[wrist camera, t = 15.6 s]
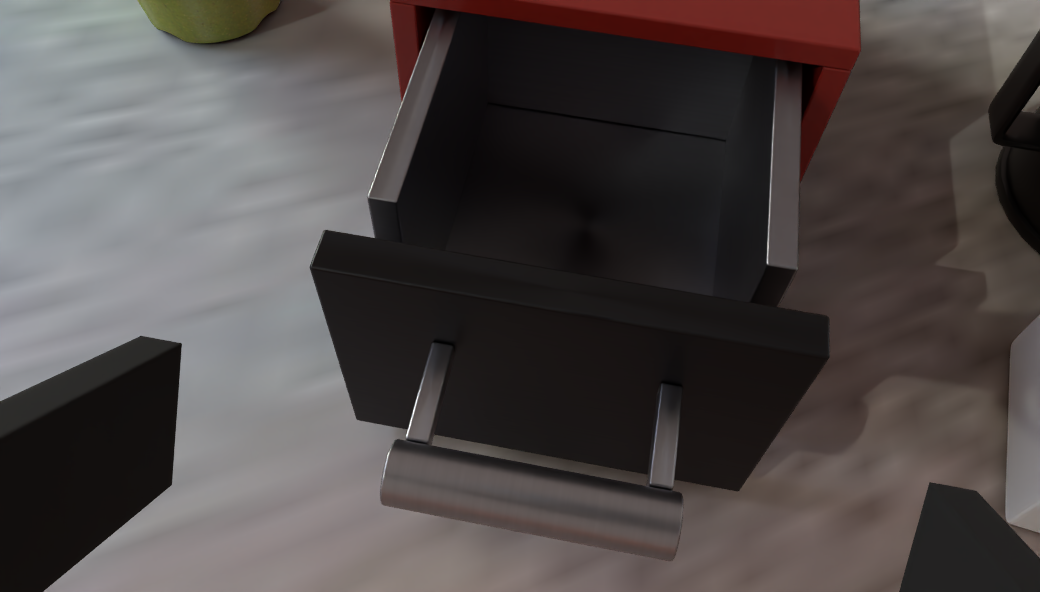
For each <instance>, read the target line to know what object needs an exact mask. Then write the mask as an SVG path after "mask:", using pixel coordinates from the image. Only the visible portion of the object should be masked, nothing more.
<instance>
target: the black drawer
mask: <svg viewBox="0 0 1040 592" xmlns="http://www.w3.org/2000/svg"><path fill="white" fill-rule="evenodd" d="M801 110H802V63H798V62H792V61H785V60H778V59H772V58H765V57H758V56H751V55H745V54H738V53H731V52H725V51H718V50H711V49H705V48H698V47H691V46H685V45H678V44H671V43H665V42H658V41H651V40H645V39H638V38H631V37H624V36H618V35H611V34H604V33H598V32H591V31H584V30H578V29H571V28H564V27H558V26H551V25H544V24H538V23H531V22H524V21H518V20H511V19H504V18H497V17H491V16H484V15H477V14H471V13H464V12H457V11H451V10H444V9H437V8H436V9H435V12H434V15H433V18H432V20H431V23H430V26H429V29H428V31H427V34H426V37H425V40H424V42H423V45H422V48H421V51H420V54H419V56H418V59H417V62H416V65H415V67H414V70H413V73H412V76H411V78H410V81H409V84H408V87H407V89H406V92H405V95H404V98H403V100H402V103H401V106H400V109H399V111H398V114H397V117H396V120H395V122H394V125H393V128H392V131H391V133H390V136H389V139H388V142H387V144H386V147H385V150H384V153H383V155H382V158H381V161H380V164H379V166H378V169H377V172H376V175H375V177H374V180H373V183H372V186H371V188H370V191H369V194H368V197H367V198H368V203H369V209H370V214H371V219H372V225H373V230H374V235H375V238H370V237H365V236H359V235H353V234H347V233H341V232H335V231H329V230H324V231H323V234H322V236H321V239H320V241H319V244H318V247H317V249H316V252H315V254H314V257H313V260H312V262H311V265H310V270H311V273H312V277H313V280H314V283H315V286H316V290H317V293H318V296H319V299H320V302H321V306H322V309H323V312H324V315H325V319H326V322H327V325H328V328H329V332H330V335H331V338H332V341H333V345H334V348H335V351H336V354H337V358H338V361H339V364H340V367H341V370H342V374H343V377H344V380H345V383H346V387H347V390H348V393H349V396H350V400H351V403H352V406H353V409H354V413H355V416H356V419H357V420H360V421H366V422H371V423H376V424H382V425H387V426H392V427H398V428H403V429H408V430H407V433H406V441H405V440H400V439H397V440H395V441H394V442H393V444H392V446H391V448H390V450H389V453H388V455H387V459H386V462H385V466H384V470H383V475H382V481H381V489H380V499H381V504H382V505H384V506H389V507H394V508H399V509H405V510H410V511H415V512H420V513H425V514H430V515H435V516H440V517H446V518H451V519H456V520H461V521H466V522H471V523H476V524H481V525H487V526H492V527H497V528H502V529H507V530H512V531H517V532H522V533H528V534H533V535H538V536H543V537H548V538H553V539H558V540H563V541H569V542H574V543H579V544H584V545H589V546H594V547H599V548H604V549H609V550H615V551H620V552H625V553H630V554H635V555H640V556H645V557H650V558H656V559H661V560H666V561H672V560H673V559H674V557H675V555H676V552H677V548H678V544H679V540H680V534H681V528H682V519H683V496H682V494H681V493H680V492H675V491H672V489H673V487H674V480H680V481H685V482H690V483H695V484H701V485H706V486H711V487H717V488H722V489H727V490H733V491H739V490H740V489H741V487H742V486H743V484H744V483H745V481H746V480H747V478H748V477H749V475H750V474H751V473H752V471H753V470H754V468H755V467H756V465H757V464H758V462H759V461H760V459H761V458H762V456H763V455H764V453H765V452H766V450H767V449H768V448H769V446H770V445H771V443H772V442H773V440H774V439H775V437H776V436H777V434H778V433H779V431H780V430H781V428H782V427H783V425H784V424H785V422H786V421H787V420H788V418H789V417H790V415H791V414H792V412H793V411H794V409H795V408H796V406H797V405H798V403H799V402H800V400H801V399H802V397H803V396H804V394H805V393H806V392H807V390H808V389H809V387H810V386H811V384H812V383H813V381H814V380H815V378H816V377H817V375H818V374H819V372H820V371H821V369H822V368H823V366H824V365H825V364H826V362H827V361H828V359H829V317H828V316H826V315H820V314H814V313H808V312H803V311H797V310H791V309H785V308H779V305H780V303H781V301H782V299H783V297H784V295H785V293H786V291H787V290H788V288H789V286H790V284H791V282H792V280H793V278H794V276H795V274H796V272H797V270H798V255H799V207H800V159H801ZM434 434H435V435H440V436H445V437H451V438H456V439H461V440H467V441H472V442H477V443H483V444H488V445H493V446H499V447H504V448H509V449H515V450H520V451H525V452H531V453H536V454H541V455H546V456H552V457H557V458H562V459H568V460H573V461H578V462H584V463H589V464H594V465H600V466H605V467H610V468H616V469H621V470H626V471H632V472H637V473H642V474H648V476H647V484H646V486H643V485H638V484H632V483H627V482H622V481H616V480H611V479H606V478H601V477H595V476H590V475H585V474H579V473H574V472H569V471H564V470H558V469H553V468H548V467H542V466H537V465H532V464H527V463H521V462H516V461H511V460H505V459H500V458H495V457H489V456H484V455H479V454H474V453H468V452H463V451H458V450H452V449H447V448H442V447H437V446H431V445H432V441H433V437H434Z"/></svg>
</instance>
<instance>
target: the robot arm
mask: <svg viewBox="0 0 1040 592" xmlns="http://www.w3.org/2000/svg"><path fill="white" fill-rule="evenodd" d="M181 347H182V343H176V342H171V341H165V340H160V339H155V338H149V337H144V336H140V337H138V338H136V339H134V340H131V341H129V342H127V343H125V344H123V345H121V346H119V347H116V348H114V349H112V350H110V351H108V352H106V353H103V354H101V355H99V356H97V357H95V358H93V359H91V360H88V361H86V362H84V363H82V364H80V365H78V366H76V367H73V368H71V369H69V370H67V371H65V372H63V373H60V374H58V375H56V376H54V377H52V378H50V379H48V380H45V381H43V382H41V383H39V384H37V385H35V386H33V387H30V388H28V389H26V390H24V391H22V392H20V393H18V394H15V395H13V396H11V397H9V398H7V399H5V400H2V401H0V592H43V591H44V590H45V589H47V588H48V587H49V586H50V585H51V584H53V583H54V582H55V581H56V580H58V579H59V578H60V577H61V576H62V575H64V574H65V573H66V572H67V571H68V570H70V569H71V568H72V567H73V566H74V565H76V564H77V563H78V562H79V561H80V560H82V559H83V558H84V557H85V556H86V555H88V554H89V553H90V552H91V551H93V550H94V549H95V548H96V547H97V546H99V545H100V544H101V543H102V542H103V541H105V540H106V539H107V538H108V537H109V536H111V535H112V534H113V533H114V532H115V531H117V530H118V529H119V528H120V527H122V526H123V525H124V524H125V523H126V522H128V521H129V520H130V519H131V518H132V517H134V516H135V515H136V514H137V513H138V512H140V511H141V510H142V509H143V508H144V507H146V506H147V505H148V504H149V503H151V502H152V501H153V500H154V499H155V498H157V497H158V496H159V495H160V494H161V493H163V492H164V491H165V490H166V489H167V488H169V487H170V486H171V485H172V475H173V460H174V446H175V432H176V418H177V404H178V390H179V376H180V361H181ZM899 592H1040V558H1039V557H1038V556H1037V555H1036V554H1035V553H1034V552H1033V551H1032V550H1031V549H1030V548H1029V547H1028V545H1027V544H1026V543H1025V542H1024V541H1023V540H1022V539H1021V538H1020V537H1019V536H1018V535H1017V534H1016V533H1015V532H1014V531H1013V529H1012V528H1011V527H1010V526H1009V525H1008V524H1007V523H1006V522H1005V521H1004V520H1003V519H1002V518H1001V517H1000V516H999V515H998V513H997V512H996V511H995V510H994V509H993V508H992V507H991V506H990V505H989V504H988V503H987V502H986V501H985V500H984V499H983V497H982V496H981V495H980V494H979V493H978V492H977V491H974V490H969V489H963V488H958V487H953V486H947V485H942V484H936V483H931V482H929V486H928V490H927V493H926V497H925V500H924V504H923V508H922V511H921V515H920V518H919V522H918V526H917V529H916V533H915V537H914V540H913V544H912V547H911V551H910V555H909V558H908V562H907V565H906V569H905V573H904V576H903V580H902V583H901V587H900V591H899Z"/></svg>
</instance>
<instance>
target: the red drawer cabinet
mask: <svg viewBox="0 0 1040 592" xmlns="http://www.w3.org/2000/svg"><path fill="white" fill-rule="evenodd" d="M436 8H437V9H444V10H451V11H457V12H464V13H471V14H477V15H484V16H491V17H497V18H504V19H511V20H518V21H524V22H531V23H538V24H544V25H551V26H558V27H564V28H571V29H578V30H584V31H591V32H598V33H604V34H611V35H618V36H624V37H631V38H638V39H645V40H651V41H658V42H665V43H671V44H678V45H685V46H691V47H698V48H705V49H711V50H718V51H725V52H731V53H738V54H745V55H751V56H758V57H765V58H772V59H778V60H785V61H792V62H798V63H802V110H801V159H800V182H801V180H802V178H803V176H804V174H805V171H806V169H807V167H808V165H809V163H810V161H811V158H812V156H813V154H814V152H815V150H816V148H817V145H818V143H819V141H820V139H821V137H822V134H823V132H824V130H825V128H826V126H827V124H828V121H829V119H830V117H831V115H832V113H833V110H834V108H835V106H836V104H837V102H838V100H839V97H840V95H841V93H842V91H843V89H844V87H845V84H846V82H847V80H848V78H849V76H850V73H851V70H852V69H853V67H854V65H855V62H856V60H857V58H858V56H859V54H860V52H861V33H860V2H859V0H390V10H391V18H392V27H393V35H394V43H395V52H396V60H397V69H398V77H399V85H400V94H401V102H402V100H403V98H404V95H405V92H406V89H407V87H408V84H409V81H410V78H411V76H412V73H413V70H414V67H415V65H416V62H417V59H418V56H419V54H420V51H421V48H422V45H423V42H424V40H425V37H426V34H427V31H428V29H429V26H430V23H431V20H432V18H433V15H434V12H435V9H436Z"/></svg>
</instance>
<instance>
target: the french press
mask: <svg viewBox="0 0 1040 592" xmlns="http://www.w3.org/2000/svg"><path fill="white" fill-rule="evenodd" d="M1039 85H1040V30H1039V31H1038V33H1037V34H1036V36H1035V38H1034V39H1033V41H1032V42H1031V44H1030V45H1029V47H1028V48H1027V50H1026V51H1025V53H1024V54H1023V56H1022V57H1021V59H1020V60H1019V62H1018V63H1017V65H1016V66H1015V68H1014V69H1013V71H1012V72H1011V74H1010V75H1009V77H1008V78H1007V80H1006V81H1005V83H1004V84H1003V86H1002V87H1001V89H1000V90H999V92H998V93H997V95H996V96H995V98H994V99H993V101H992V103H991V104H990V107H989V110H988V113H989V121H990V128H991V136H992V140H993V142H994V143H995V144H997V145H1001V146H1004V147H1003V149H1002V150H1001V152H1000V155H999V158H998V162H997V165H996V188H997V192H998V196H999V200H1000V203H1001V205H1002V207H1003V209H1004V211H1005V213H1006V215H1007V217H1008V219H1009V220H1010V222H1011V223H1012V224H1013V226H1014V227H1015V228H1016V230H1017V231H1018V232H1019V234H1020V235H1021V236H1022V238H1023V239H1024V240H1025V241H1026V242H1027V243H1028V244H1029V245H1030V246H1031V247H1032V248H1033V249H1035V250H1036V251H1037V252H1038V253H1039V254H1040V107H1039V108H1038V110H1037V111H1036V113H1030V112H1023V111H1022V109H1023V108H1024V107H1025V105H1026V104H1027V102H1028V101H1029V99H1030V98H1031V97H1032V95H1033V94H1034V92H1035V91H1036V90H1037V88H1038V87H1039Z"/></svg>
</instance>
